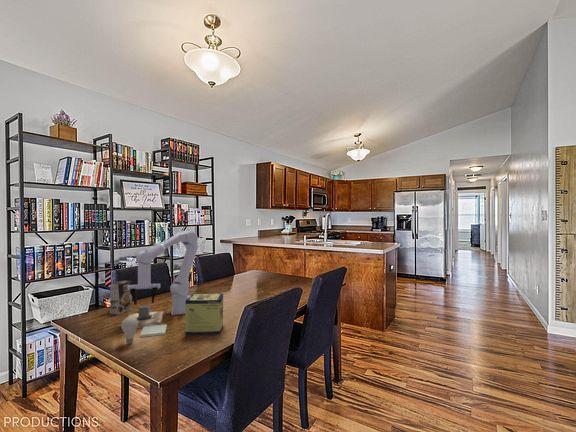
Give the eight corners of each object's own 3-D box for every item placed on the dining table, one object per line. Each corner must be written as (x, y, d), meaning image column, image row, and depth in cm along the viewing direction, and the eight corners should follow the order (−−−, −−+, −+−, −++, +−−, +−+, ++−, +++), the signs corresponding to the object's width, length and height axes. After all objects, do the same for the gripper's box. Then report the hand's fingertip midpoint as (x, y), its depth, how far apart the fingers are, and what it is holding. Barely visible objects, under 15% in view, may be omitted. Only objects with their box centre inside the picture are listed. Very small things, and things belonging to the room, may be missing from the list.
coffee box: (120, 315, 160) (120, 284, 160) (109, 314, 161) (109, 283, 161) (132, 309, 169) (132, 280, 169) (122, 308, 170) (122, 279, 170)
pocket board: (163, 314, 160) (163, 311, 160) (160, 325, 145) (160, 321, 145) (129, 317, 156) (129, 314, 156) (122, 329, 140) (122, 325, 140)
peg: (149, 319, 153) (149, 304, 153) (148, 322, 149) (148, 307, 149) (140, 320, 152) (140, 305, 152) (138, 323, 148) (138, 308, 148)
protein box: (220, 334, 135) (220, 299, 135) (184, 335, 134) (184, 300, 134) (223, 325, 146) (223, 293, 146) (190, 326, 144) (190, 293, 144)
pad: (166, 326, 144) (166, 324, 144) (165, 334, 135) (165, 332, 135) (143, 328, 141) (143, 326, 141) (140, 337, 132) (140, 334, 132)
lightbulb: (125, 341, 128) (125, 314, 128) (140, 340, 128) (140, 314, 128) (118, 347, 122) (118, 319, 122) (134, 346, 122) (134, 319, 122)
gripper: (126, 278, 144) (126, 307, 144) (159, 276, 149) (159, 304, 149) (129, 275, 151) (129, 302, 151) (160, 273, 155) (160, 300, 155)
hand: (144, 303), depth 150 cm, fingers open, 7 cm apart
